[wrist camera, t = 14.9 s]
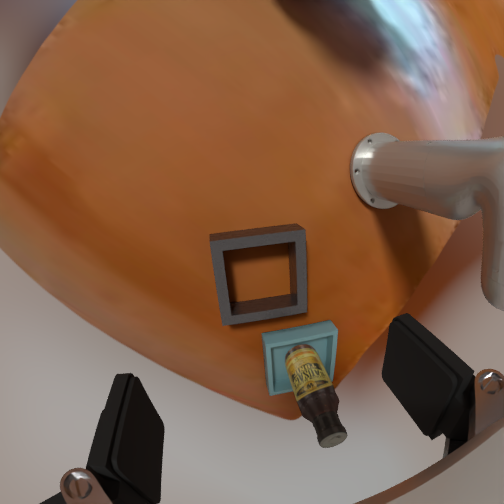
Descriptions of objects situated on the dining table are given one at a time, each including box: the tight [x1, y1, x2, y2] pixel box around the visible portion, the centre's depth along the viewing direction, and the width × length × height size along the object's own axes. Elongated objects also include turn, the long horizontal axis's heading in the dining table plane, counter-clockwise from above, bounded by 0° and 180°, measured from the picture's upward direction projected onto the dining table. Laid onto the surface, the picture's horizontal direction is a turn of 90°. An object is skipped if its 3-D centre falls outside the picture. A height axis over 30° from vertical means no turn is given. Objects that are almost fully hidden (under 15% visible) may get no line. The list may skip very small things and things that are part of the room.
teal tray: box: [262, 320, 338, 396], centre depth 48 cm, size 13×13×4 cm
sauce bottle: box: [285, 344, 347, 448], centre depth 39 cm, size 7×6×20 cm
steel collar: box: [210, 224, 307, 326], centre depth 41 cm, size 13×13×4 cm
